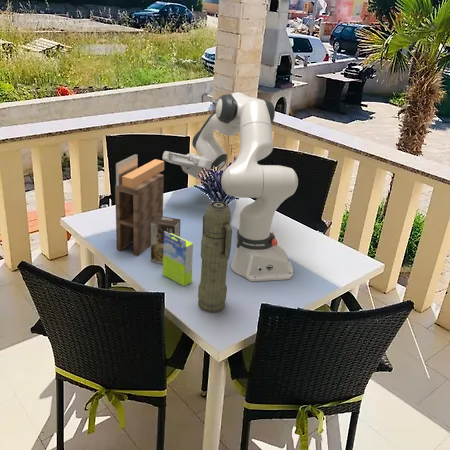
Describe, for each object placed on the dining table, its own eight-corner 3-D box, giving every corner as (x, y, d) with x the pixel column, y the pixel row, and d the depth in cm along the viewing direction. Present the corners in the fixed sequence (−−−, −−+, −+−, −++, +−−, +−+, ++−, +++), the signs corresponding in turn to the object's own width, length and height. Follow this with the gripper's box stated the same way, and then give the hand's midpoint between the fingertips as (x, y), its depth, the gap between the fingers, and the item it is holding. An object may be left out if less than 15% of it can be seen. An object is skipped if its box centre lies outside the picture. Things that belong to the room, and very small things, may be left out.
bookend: (135, 175, 191) (135, 154, 187) (137, 175, 190) (137, 154, 187) (116, 185, 181) (115, 163, 177) (118, 185, 180) (118, 164, 177)
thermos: (208, 291, 172) (214, 194, 157) (234, 307, 165) (243, 207, 149) (188, 301, 166) (193, 201, 151) (214, 318, 159) (222, 215, 144)
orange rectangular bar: (155, 167, 199) (155, 159, 197) (164, 169, 197) (164, 161, 196) (122, 185, 180) (122, 176, 179) (132, 188, 179) (132, 178, 178)
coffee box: (180, 258, 190) (181, 219, 183) (173, 267, 184) (175, 226, 177) (156, 253, 192) (157, 214, 185) (150, 262, 186) (150, 221, 179)
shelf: (142, 231, 207) (142, 170, 196) (162, 236, 204) (163, 174, 193) (116, 249, 192) (115, 184, 181) (137, 256, 189) (137, 190, 178)
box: (192, 282, 176) (194, 237, 169) (184, 287, 173) (186, 241, 166) (169, 270, 182) (171, 226, 174) (161, 275, 179) (162, 230, 171)
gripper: (172, 152, 223) (158, 143, 210) (215, 161, 217) (204, 153, 204) (168, 166, 223) (154, 158, 210) (211, 176, 216) (199, 168, 203)
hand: (179, 156), depth 207 cm, fingers open, 8 cm apart
